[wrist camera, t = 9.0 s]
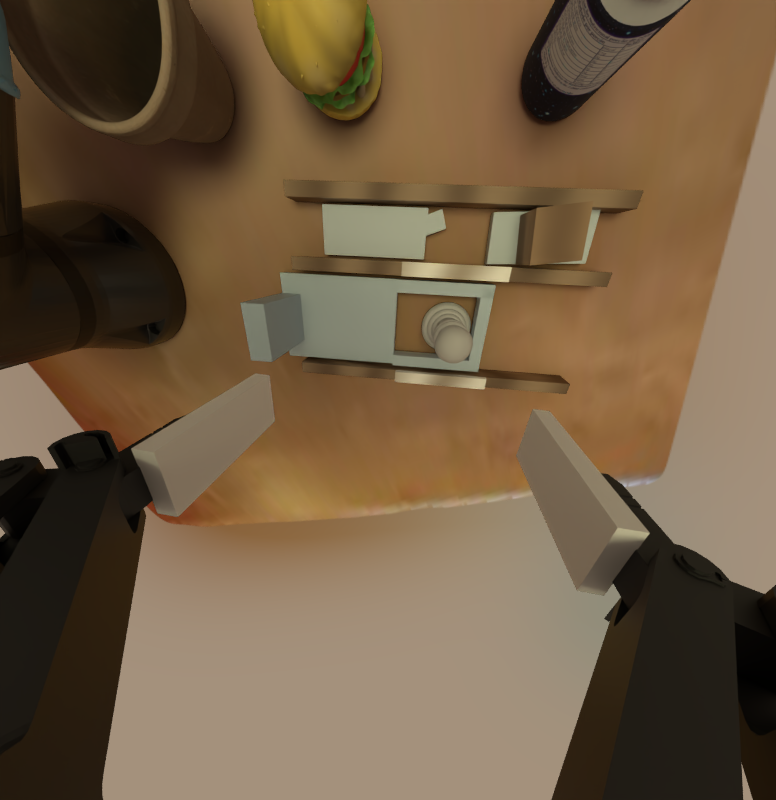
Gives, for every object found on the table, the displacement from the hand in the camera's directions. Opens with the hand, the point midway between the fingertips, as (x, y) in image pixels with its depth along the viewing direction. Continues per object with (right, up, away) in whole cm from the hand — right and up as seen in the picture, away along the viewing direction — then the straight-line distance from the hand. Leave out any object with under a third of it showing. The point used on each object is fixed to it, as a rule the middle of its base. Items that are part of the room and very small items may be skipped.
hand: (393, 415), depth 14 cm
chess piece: (+6, +9, +17) cm, 20 cm away
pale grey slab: (-1, +10, +17) cm, 20 cm away
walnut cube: (+14, +16, +11) cm, 24 cm away
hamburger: (-4, +28, +9) cm, 29 cm away
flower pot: (-17, +28, +10) cm, 34 cm away
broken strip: (+6, +17, +13) cm, 22 cm away
